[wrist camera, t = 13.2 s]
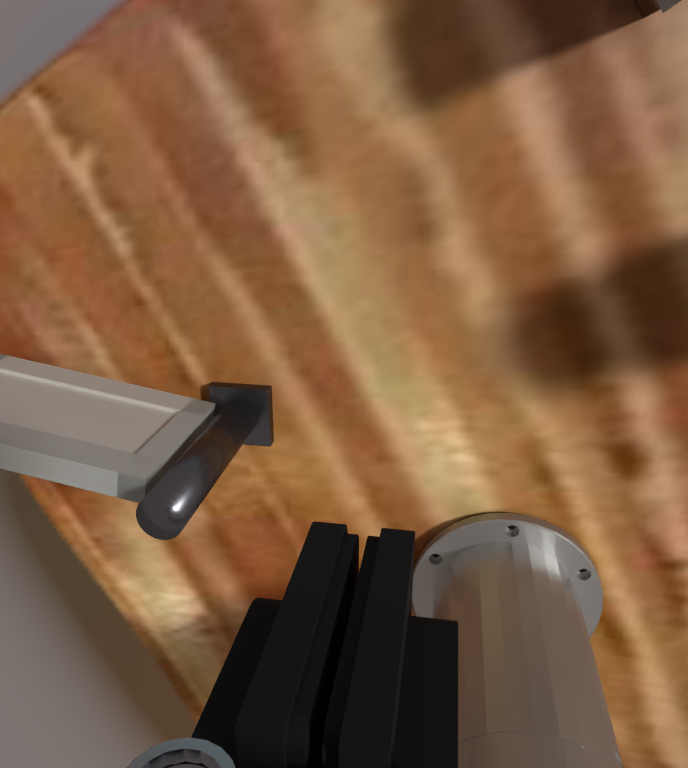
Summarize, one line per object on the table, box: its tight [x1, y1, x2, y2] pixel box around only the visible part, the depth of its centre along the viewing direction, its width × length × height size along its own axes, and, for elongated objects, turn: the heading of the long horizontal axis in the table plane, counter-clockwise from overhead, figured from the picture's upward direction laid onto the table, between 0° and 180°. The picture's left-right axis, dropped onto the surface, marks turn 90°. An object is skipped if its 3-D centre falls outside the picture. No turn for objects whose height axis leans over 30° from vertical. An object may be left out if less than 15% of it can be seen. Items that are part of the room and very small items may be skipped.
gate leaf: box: [0, 354, 215, 503], centre depth 38 cm, size 16×2×10 cm, turn 80°
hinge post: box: [136, 382, 274, 540], centre depth 37 cm, size 4×4×13 cm
